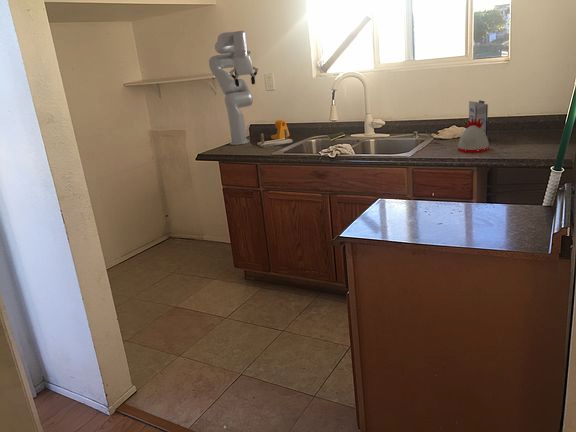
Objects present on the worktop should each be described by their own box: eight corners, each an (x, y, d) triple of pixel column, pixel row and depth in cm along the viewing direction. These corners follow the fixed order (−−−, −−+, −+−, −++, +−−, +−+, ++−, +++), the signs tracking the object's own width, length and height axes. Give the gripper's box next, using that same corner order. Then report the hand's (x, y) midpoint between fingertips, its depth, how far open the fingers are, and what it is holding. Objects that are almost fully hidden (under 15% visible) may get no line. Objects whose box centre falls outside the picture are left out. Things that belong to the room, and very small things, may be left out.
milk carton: (468, 139, 258) (468, 100, 252) (480, 137, 258) (481, 99, 252) (474, 141, 251) (475, 101, 245) (486, 139, 252) (488, 100, 245)
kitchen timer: (481, 154, 225) (482, 121, 220) (453, 152, 234) (453, 120, 229) (493, 147, 234) (494, 116, 229) (465, 146, 243) (465, 115, 238)
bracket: (280, 136, 322) (278, 118, 318) (289, 137, 318) (287, 118, 314) (270, 140, 314) (268, 121, 310) (280, 140, 310) (278, 121, 306)
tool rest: (257, 145, 301) (256, 133, 298) (285, 140, 308) (284, 128, 305) (264, 147, 292) (262, 134, 290) (292, 142, 299) (291, 129, 297)
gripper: (253, 53, 283) (256, 83, 288) (225, 56, 276) (229, 87, 282) (258, 52, 276) (261, 83, 282) (229, 55, 270) (233, 87, 275)
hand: (245, 85), depth 282 cm, fingers open, 9 cm apart
